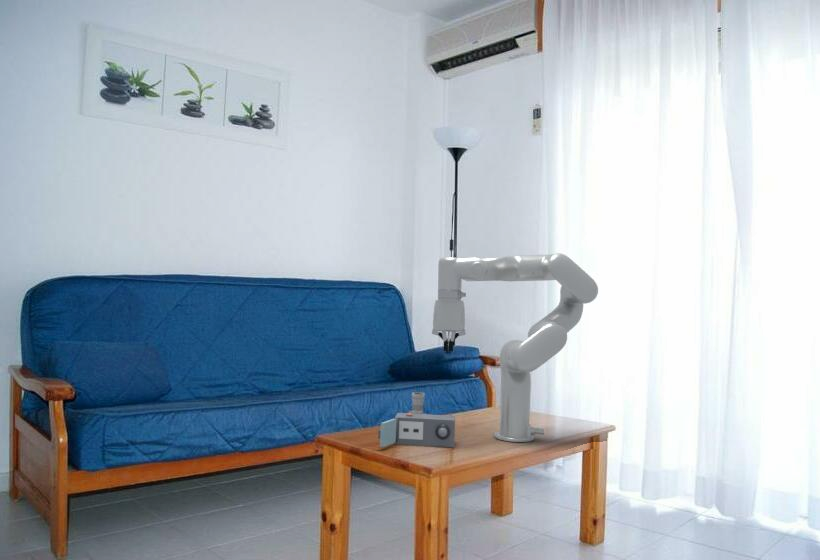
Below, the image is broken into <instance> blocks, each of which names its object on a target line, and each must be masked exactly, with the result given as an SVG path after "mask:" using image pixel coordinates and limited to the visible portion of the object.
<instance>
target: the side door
mask: <svg viewBox="0 0 820 560" xmlns="http://www.w3.org/2000/svg"><path fill="white" fill-rule="evenodd" d="M377 434H378V435H377V439H378V440H379V447H380V448H384V447H387V446H390V445H393V444H394V443H395V442H396V419H395V418H391V419H389V420H385V421H383V422H380V429H378V431H377Z"/></svg>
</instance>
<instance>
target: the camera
mask: <svg viewBox="0 0 820 560" xmlns="http://www.w3.org/2000/svg"><path fill="white" fill-rule="evenodd" d="M425 395H426V394H425V392H420V391H412V393H411V401H412V406H411V407H412V408H411V410H409V411H408V413H412V414H426V413H424V401H425Z"/></svg>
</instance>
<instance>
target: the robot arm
mask: <svg viewBox="0 0 820 560" xmlns="http://www.w3.org/2000/svg"><path fill="white" fill-rule="evenodd" d="M437 264H438V266H437V267H438V269H437V272H438V273H437V275H438V276H437V299H435V302H434V306H433V315H432V316H433V317H432V318H433V319H432V330H431V334H432V335H433V336H434V335H435V336H438V337H440V338H441V341H443V352H445V355H448V354H449V355H451V354H452V353H451V352H453V351H454V342H455V340H456V339H457V338H458V337H462V336H465V335H466V334H467V333H466V330H465V327H466V313H465V302H464V300H462V298H466V297H467V296H466V295H467V293H466V292H464V291H462V284H463V283H462V281H465V282H490V281H492V282H494V281H496V282H497V281H499V282H536V281H537V282H542V281H545V282H546V281H556V282H558V284H559V285H560V290H559V295H560V296H559V303H558V305H557V306H556V307H555V308H554V309H553V310H552V311H550V312H549V313H548V314H547V315H546V316H544V317H542V318H541V319H540V320H539V321H537V322H535V323H534V324H533V325H532V326H530V329H529V330H528V333H527V338H526V339H523V340H520V339H512V340H509V341H507V342H506V343H504V344H503V346H502V348H501V349H500V353H499V367H500V397H499V398H500V399H499V401H500V404H499V430H498V431H495V432H494V435H493V436H494V438H495V439H497V440H501V441H505V442H514V443H526V442H527V443H528V442H532V441H534V439H535V435H539V436H540V435H543V436H544V434H545V429H544V428H539V427H534V426H531V423H530V413H531V411H530V410H531V385H532V383H531V382H532V381H531V373H532V372H534V371H535V370H537V369H539V368H540V367H541V366H542V365H545V363H546V362H548V361H549V360H551V359H552V358H554V356H556V355H557V354H558V353H560V352H561V351H562V350H563V348H564V347H565V346H566V344H567V341H568V333H569V332H570V331H571V330H572V329H574V328H575V327H576V326H577V325H578V324H579V322H580V320H581V318H582V316H583V311H584V304H590V303H591V302H593V301H594V300H596V299H597V296H598V295H599V287H598V285H597V284H598V283H596V280H594V279H593V278H592V276H591V275H590V274H588V272H586V271H585V270H583V269H582V268H581V267H580V265H579V264H577V263H576V261H574V260H573V259H571V258H570V257H568V256H567V255H566V254H563V253H559V252H556V253H552V254H551V253H550V254H517V255H516V254H515V255H507V256H501V257H494V258H481V257H478V256H476V257H475V256H473V257H464V258H463V257H462V258H460V257H451V256H445V257H440V258H439V260H438V263H437ZM447 332H450V333H451V334H450V338H449V339H448V338H447Z"/></svg>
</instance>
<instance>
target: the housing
mask: <svg viewBox="0 0 820 560" xmlns="http://www.w3.org/2000/svg"><path fill="white" fill-rule="evenodd" d="M394 419H396V442H395V443H393V445H403V446H404V445H405V446H420V447H421V446H422V447H437V448H438V447H439V448H455V440H456V439H455V436H456V415H446V414H429V413H428V414H427V413H425V414H412V413H409V412H396V415H395V417H394Z"/></svg>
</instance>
